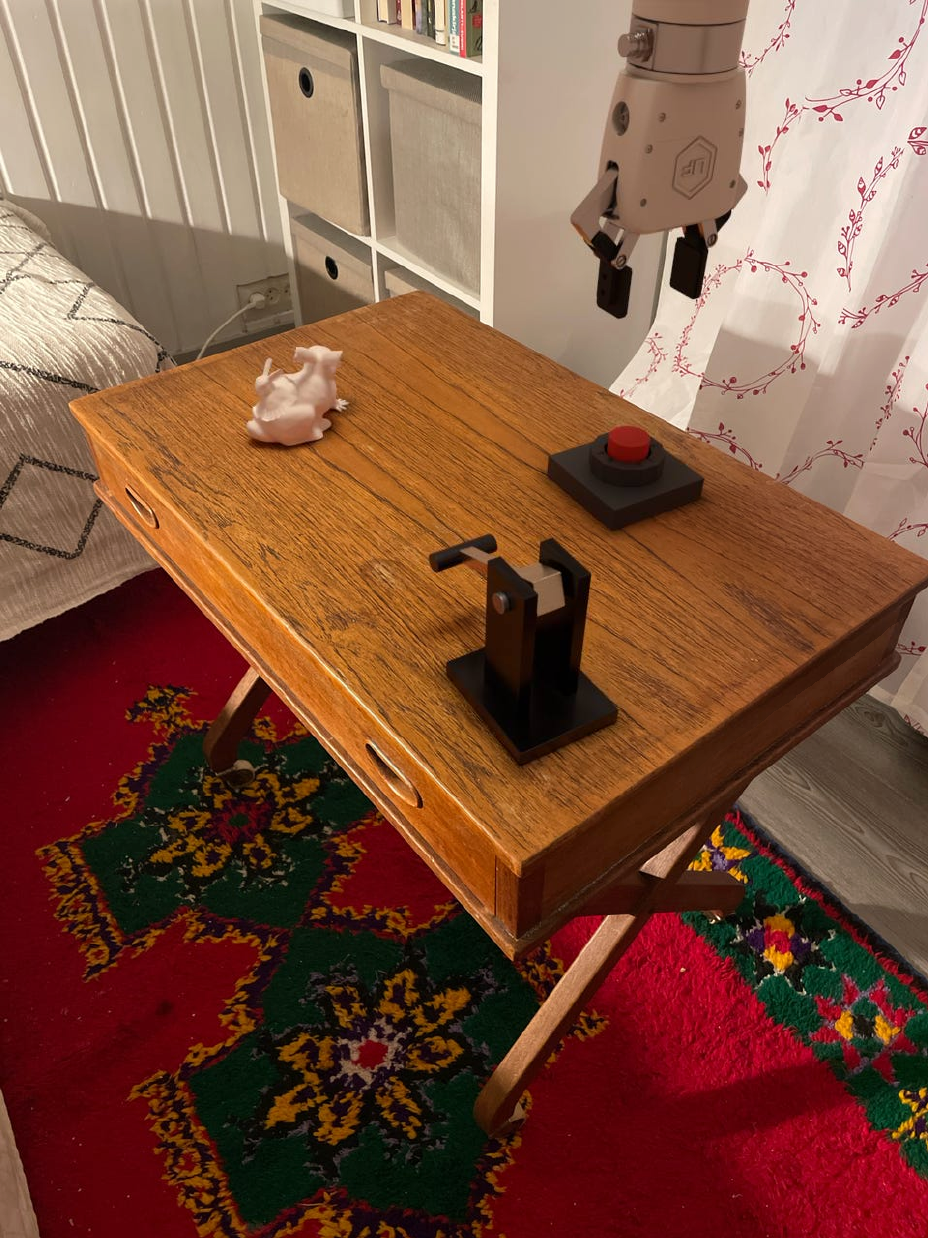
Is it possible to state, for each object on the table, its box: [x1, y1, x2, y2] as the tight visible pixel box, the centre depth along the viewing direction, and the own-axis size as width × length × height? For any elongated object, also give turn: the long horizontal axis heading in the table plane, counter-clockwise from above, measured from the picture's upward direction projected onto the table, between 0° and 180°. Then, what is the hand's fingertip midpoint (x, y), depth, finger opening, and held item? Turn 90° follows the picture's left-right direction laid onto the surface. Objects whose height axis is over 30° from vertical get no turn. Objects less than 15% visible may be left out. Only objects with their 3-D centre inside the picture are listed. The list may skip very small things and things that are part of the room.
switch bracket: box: [445, 537, 619, 766], centre depth 65 cm, size 10×8×12 cm
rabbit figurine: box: [246, 345, 350, 446], centre depth 92 cm, size 12×8×10 cm, turn 125°
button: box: [607, 425, 651, 462], centre depth 86 cm, size 4×4×2 cm
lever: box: [428, 533, 565, 617], centre depth 66 cm, size 12×5×2 cm, turn 30°
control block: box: [546, 431, 705, 532], centre depth 87 cm, size 10×10×4 cm
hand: (648, 300), depth 77 cm, fingers open, 6 cm apart
